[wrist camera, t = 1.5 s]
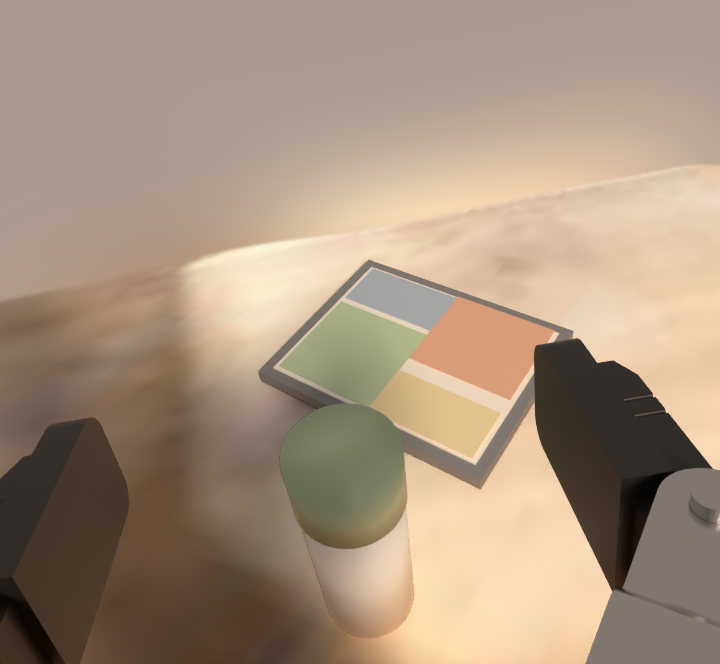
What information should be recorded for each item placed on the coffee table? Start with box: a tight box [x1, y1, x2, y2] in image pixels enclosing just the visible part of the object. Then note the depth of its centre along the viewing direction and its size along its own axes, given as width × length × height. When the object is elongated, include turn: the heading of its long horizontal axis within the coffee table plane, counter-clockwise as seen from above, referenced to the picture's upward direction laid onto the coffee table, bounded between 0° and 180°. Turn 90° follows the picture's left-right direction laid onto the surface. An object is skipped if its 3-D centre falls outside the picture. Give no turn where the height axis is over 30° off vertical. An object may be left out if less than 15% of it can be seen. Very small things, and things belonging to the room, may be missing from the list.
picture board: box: [258, 260, 573, 489], centre depth 43 cm, size 16×13×1 cm
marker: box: [279, 403, 414, 638], centre depth 29 cm, size 5×5×12 cm
